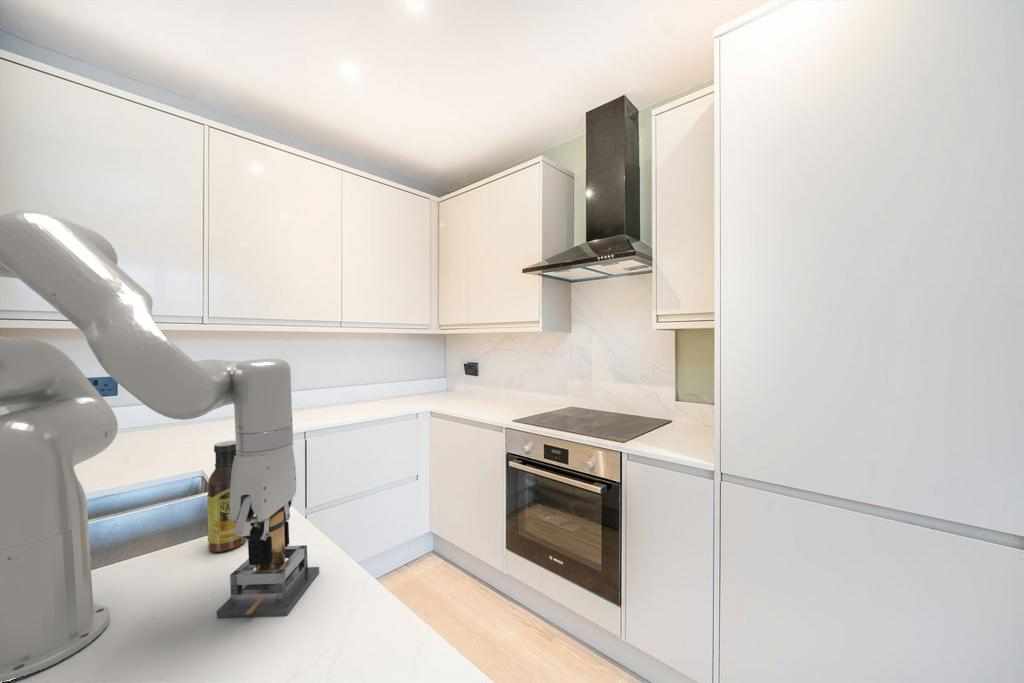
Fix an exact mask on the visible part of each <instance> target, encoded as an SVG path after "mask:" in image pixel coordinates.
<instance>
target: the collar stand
mask: <svg viewBox="0 0 1024 683" xmlns="http://www.w3.org/2000/svg"><path fill="white" fill-rule="evenodd" d="M285 558H286V559H287V560H286V562H285V563H284V564H283V565H282V566H281V567H280V568H278V569H276V570H256V565H250V564H249V557H248V558H247V559H246V560H245V561H243V563H242V564H240V565H239V566H238V567H237V568H236V569H235V570H234V571H233V572H232V573H231V574H230V575H229V582H230V584H229V585H230V598H228V599H227V600H226V602H224V604H222V606H221V607H219V608H218V609H217V610H216V619H230V618H231V619H232V618H235V619H237V618H262V617H263V618H264V617H284V616H285V617H287V616H288V615H289V613H290V612H291V611H292V609H293V608H294V607H295V606H296V604H297V603H298V601H299V600H300V599H301V598H302V597H303V595H304V594H305V592H306V591H307V590H308V589H309V587H310V585H312V583H313V582H314V580H315V579H316V578H317V576H318V575H320V574H319V573H320V566H310V567H309V564H308V545H307V544H306V545H288V546H287V547H285Z"/></svg>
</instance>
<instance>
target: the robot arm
mask: <svg viewBox="0 0 1024 683" xmlns="http://www.w3.org/2000/svg"><path fill="white" fill-rule="evenodd" d="M118 261H119V260H118V254H117V253H116V249H115V248H114V246H113V245H112V244H111V243H110V242H109V241H108V240H107V239H106V238H105V237H104V236H102V235H101V234H100V233H98V232H96V231H95V230H93V229H90V228H88V227H85V226H82V225H80V224H77V223H76V222H72V221H69V220H66V219H64V218H61V217H59V216H56V215H52V214H49V213H45V212H39V211H32V210H31V211H30V210H22V211H20V210H19V211H12V212H8V213H5V214H2V215H0V277H1V278H11V279H18V280H19V281H21V282H22V283H23V284H24V285H26V286H27V287H28V288H29V289H30V290H32V291H33V292H34V293H36V294H37V295H38V296H39V297H41V298H42V299H43V300H44V301H45V302H47V303H48V304H49V305H51V306H52V307H53V309H55V310H56V311H58V312H59V313H60V314H61V315H62V316H63V317H65V318H66V319H67V320H68V321H69V322H70V323H72V324H73V325H74V326H75V327H76V328H77V329H79V330H80V331H81V332H82V333H83V334H84V336H85V338H86V342H87V344H88V346H89V347H90V349H91V352H92V353H93V354H94V356H95V358H96V359H97V361H98V364H99V365H100V366H101V367H102V368H103V370H104V371H105V372H106V374H108V375H109V376H110V378H112V380H114V381H115V382H116V383H117V384H118V385H120V386H121V387H122V388H123V389H125V390H126V391H127V392H128V393H129V394H131V395H132V396H133V397H134V398H136V399H137V400H138V401H140V402H141V403H142V404H143V405H144V406H146V407H147V408H149V409H150V410H152V411H153V412H155V413H157V414H159V415H160V416H161V415H162V416H163V417H165V418H169V419H173V420H179V421H180V420H181V421H185V420H194V419H197V418H199V417H202V416H204V415H206V414H209V413H210V412H212V411H214V410H217V409H220V408H222V407H224V406H229V405H233V408H234V410H233V411H234V412H233V413H234V429H235V430H234V432H235V433H234V434H235V441H236V454H237V455H236V456H234V461H233V466H232V473H231V486H230V519H231V521H232V522H233V523H236V522H237V524H236V527H235V530H234V534H235V535H239V536H243V537H245V542H247V547H248V548H247V549H248V550H247V551H248V558H249V564H250V565H269V564H270V563H271V562H272V537H268V534H269V519H270V516H272V515H273V514H274V513H275V512H277V511H278V510H279V509H282V510H283V511H284V534H285V547H287V546H290V529H289V528H290V527H289V520H290V519H291V512H290V509H291V506H292V502H293V499H294V497H295V495H296V494H297V472H296V461H295V454H294V448H293V446H294V434H293V433H294V432H293V431H294V429H293V427H294V426H293V406H292V404H293V403H292V400H293V398H292V377H291V376H292V375H291V366H290V364H289V363H288V362H287V361H286V360H284V359H279V358H278V359H277V358H266V359H265V358H264V359H263V358H262V359H251V360H250V359H249V360H243V361H240V360H239V361H238V360H237V361H235V360H224V359H222V360H221V359H203V360H197V361H196V360H195V361H194V360H193V359H192V358H191V357H190V356H188V355H187V354H186V353H185V352H184V351H182V350H181V349H180V348H179V347H178V346H177V345H175V344H174V342H173V341H171V340H170V339H169V338H168V337H167V336H166V334H164V332H163V331H162V329H160V328H159V326H158V325H157V323H156V322H155V320H154V317H153V310H152V309H153V299H152V296H151V295H150V294H149V292H148V291H146V289H144V288H143V287H142V286H141V285H140V284H139V283H138V282H136V281H135V280H134V279H133V278H131V276H130V275H128V274H127V273H126V271H124V270H123V269H122V268H120V267H119V266H118ZM0 408H5V409H6V410H7V411H8V412H7V413H4V414H1V415H0V682H1V681H2V682H4V681H6V680H10V679H13V678H18V677H22V676H25V675H28V674H30V675H32V674H31V673H33V674H34V672H35V673H37V672H36V671H38V672H40V671H42V669H43V670H45V669H47V668H49V667H51V666H53V665H55V664H58V663H60V662H61V661H64V660H65V659H66V658H69V657H70V656H72V655H73V654H75V653H78V652H79V651H80V650H81V649H83V648H84V647H86V646H87V645H88V644H90V643H92V642H93V641H94V640H95V639H96V638H97V637H99V635H101V634H102V632H104V630H105V629H106V628H107V626H108V624H109V623H110V619H111V615H110V614H111V613H110V609H109V607H107V606H105V605H103V604H97V603H95V604H94V599H93V598H94V597H93V582H92V581H93V580H92V563H91V562H92V561H91V551H90V550H91V548H90V546H91V545H90V533H89V530H90V529H89V515H88V505H87V504H88V502H87V497H86V494H85V490H84V488H83V486H82V483H81V481H79V478H78V476H77V475H76V472H75V468H74V467H75V466H77V465H79V464H81V463H83V462H85V461H87V460H89V459H91V458H93V457H95V456H97V455H99V454H100V453H102V452H103V451H105V450H106V449H107V448H109V447H110V446H111V444H112V443H113V442H114V440H115V439H116V436H117V435H118V428H119V426H118V419H117V417H116V414H115V412H114V411H113V409H112V407H111V406H110V405H109V403H108V402H107V400H105V399H104V397H103V396H102V395H101V394H100V393H99V390H97V389H96V387H95V386H94V385H93V384H92V383H91V382H90V380H89V379H88V378H87V377H86V375H85V374H84V373H83V371H81V369H80V368H79V366H77V365H76V363H75V362H74V361H73V359H71V358H70V356H68V355H67V354H66V353H65V352H64V351H62V350H61V349H59V348H58V347H56V346H54V344H53V345H52V344H50V343H48V342H46V341H43V340H39V339H35V338H30V337H20V336H19V337H18V336H16V337H15V336H12V337H11V336H8V337H6V336H4V337H3V336H0ZM255 515H257V517H254V516H255ZM254 523H261V529H259V528H258V527H254ZM39 670H40V671H39ZM28 676H29V675H28ZM25 677H26V676H25ZM22 678H23V677H22Z"/></svg>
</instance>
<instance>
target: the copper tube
mask: <svg viewBox="0 0 1024 683" xmlns="http://www.w3.org/2000/svg"><path fill="white" fill-rule="evenodd" d="M254 517H257V514H256V515H255V514H254ZM254 527H258V528H259V529H261V523H254ZM268 537H272V562H271V563H270V564H269V565H256V567H255V570H276V569H278V568H280V567H281V566H282V565H283V564H284V563H285V562H286V561H287V560H286V559H287V558H285V534H284V511H283V510H282V509H279V510H278V511H277V512H275V513H274V514H273V515H272V516H270V519H269V534H268Z"/></svg>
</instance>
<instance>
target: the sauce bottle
mask: <svg viewBox="0 0 1024 683" xmlns="http://www.w3.org/2000/svg"><path fill="white" fill-rule="evenodd" d="M213 452H214V453H215V463H214V470H213V472H212V473H211V474H210V477H209V479H208V481H207V492H208V493H207V497H206V499H207V542H208V550H209V551H210V552H213V553H221V552H225V551H226V552H227V551H231V550H233V549H236V548H237V547H239V546H241V545H242V544H244V543H245V542H246V540H245V537H243V536H239V535H235V534H234V530H235V527H236V524H237V522H236V523H233V522H232V521H231V519H230V486H231V473H232V466H233V461H234V456H236V455H237V454H236V440H229V441H228V440H227V441H221V442H218V443H215V444H214V446H213Z"/></svg>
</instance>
